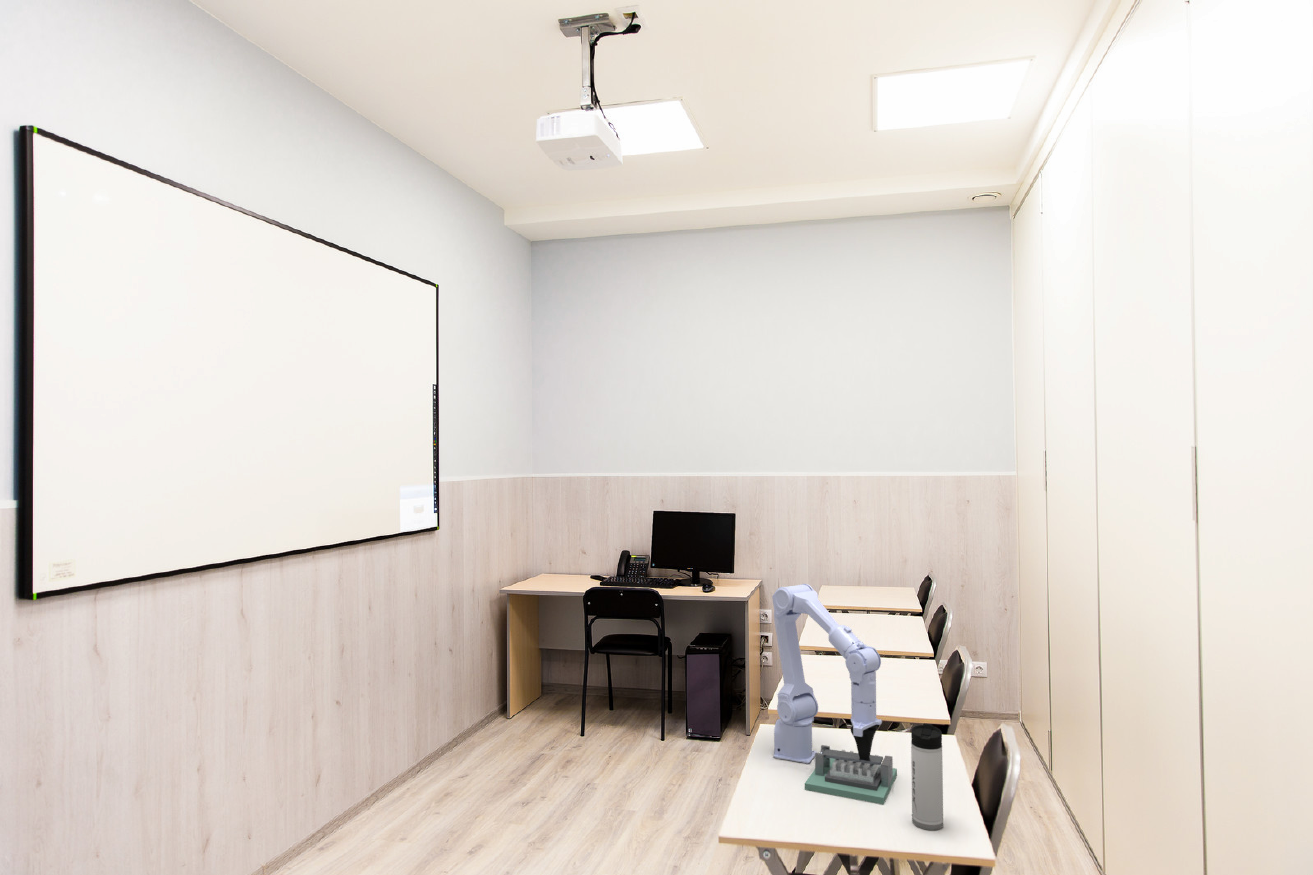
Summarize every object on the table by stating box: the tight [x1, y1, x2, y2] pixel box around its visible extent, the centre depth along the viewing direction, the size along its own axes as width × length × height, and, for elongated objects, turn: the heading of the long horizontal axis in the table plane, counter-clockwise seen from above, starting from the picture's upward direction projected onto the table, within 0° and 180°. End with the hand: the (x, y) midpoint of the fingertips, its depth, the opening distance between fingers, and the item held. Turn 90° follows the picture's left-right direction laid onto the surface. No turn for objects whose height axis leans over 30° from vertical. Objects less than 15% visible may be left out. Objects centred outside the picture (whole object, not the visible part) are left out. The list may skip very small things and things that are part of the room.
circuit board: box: [804, 758, 898, 805], centre depth 186 cm, size 18×18×2 cm
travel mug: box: [910, 722, 944, 831], centre depth 165 cm, size 6×7×20 cm
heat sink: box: [814, 744, 894, 787], centre depth 186 cm, size 17×10×5 cm, turn 64°
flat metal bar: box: [819, 748, 884, 765], centre depth 186 cm, size 14×4×1 cm, turn 64°
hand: (864, 757), depth 185 cm, fingers closed, pressing on flat metal bar
